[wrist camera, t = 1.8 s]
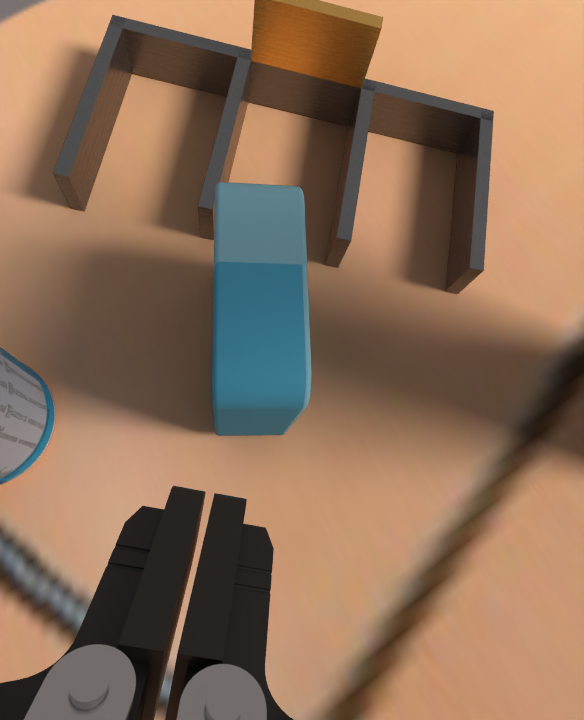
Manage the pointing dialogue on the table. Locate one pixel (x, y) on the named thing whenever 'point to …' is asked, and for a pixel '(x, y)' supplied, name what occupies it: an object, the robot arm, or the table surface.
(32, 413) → the beverage bottle
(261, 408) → the data package
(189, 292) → the table surface
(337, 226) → the sorting rack
